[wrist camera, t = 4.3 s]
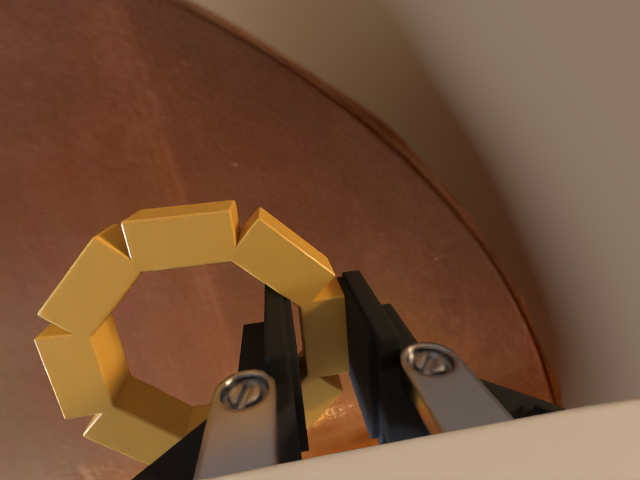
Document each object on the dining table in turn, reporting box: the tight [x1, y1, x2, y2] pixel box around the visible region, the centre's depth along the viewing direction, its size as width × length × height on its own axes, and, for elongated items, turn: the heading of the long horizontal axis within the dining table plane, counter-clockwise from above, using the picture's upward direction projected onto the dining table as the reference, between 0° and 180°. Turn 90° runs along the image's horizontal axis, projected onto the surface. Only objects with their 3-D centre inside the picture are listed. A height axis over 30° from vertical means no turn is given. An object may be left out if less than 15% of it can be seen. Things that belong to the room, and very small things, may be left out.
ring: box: [34, 200, 349, 465], centre depth 11 cm, size 8×8×1 cm
